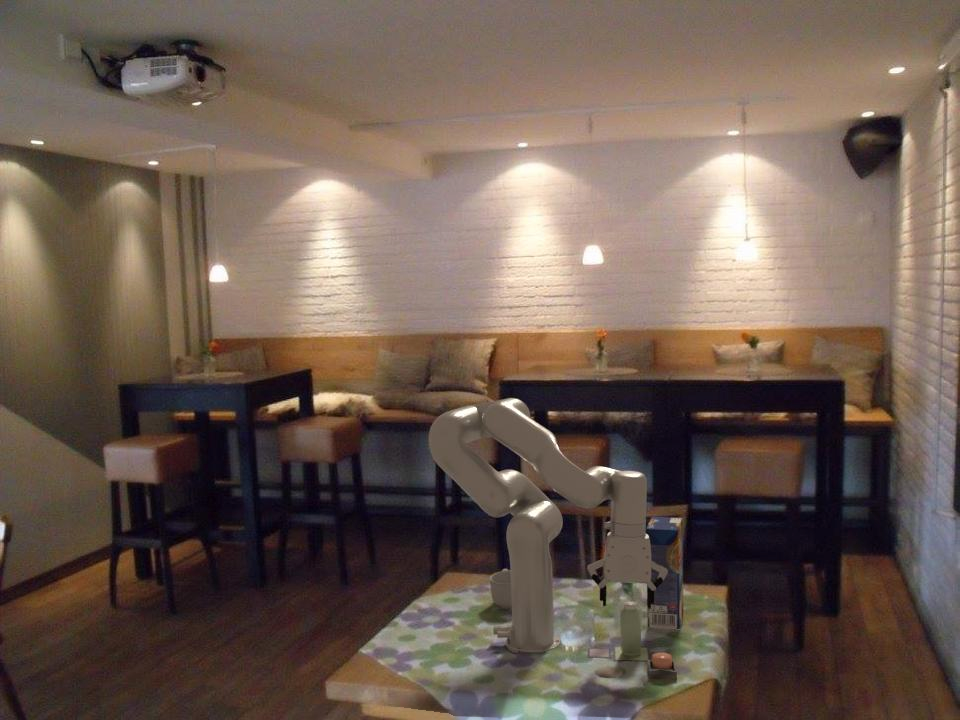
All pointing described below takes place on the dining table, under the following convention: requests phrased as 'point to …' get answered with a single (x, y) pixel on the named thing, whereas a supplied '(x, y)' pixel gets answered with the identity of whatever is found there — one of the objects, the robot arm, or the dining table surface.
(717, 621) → the dining table surface
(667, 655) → the button
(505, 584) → the teacup
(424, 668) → the dining table surface
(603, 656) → the colouring board
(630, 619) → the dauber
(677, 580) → the juice carton
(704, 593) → the dining table surface
